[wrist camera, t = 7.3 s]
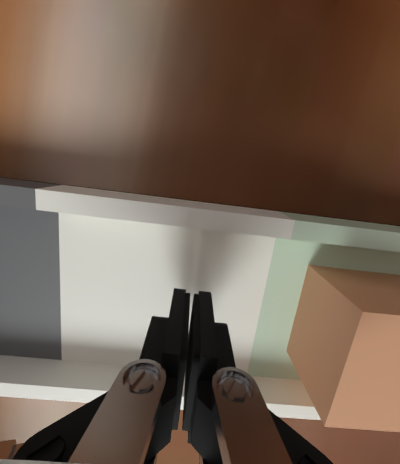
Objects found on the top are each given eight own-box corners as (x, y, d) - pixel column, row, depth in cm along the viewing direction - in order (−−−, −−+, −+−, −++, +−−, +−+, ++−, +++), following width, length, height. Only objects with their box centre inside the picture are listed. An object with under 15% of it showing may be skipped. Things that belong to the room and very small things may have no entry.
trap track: (547, 244, 12) (612, 258, 11) (468, 399, 15) (508, 434, 13) (-78, 167, 11) (-137, 168, 9) (-48, 357, 13) (-89, 389, 11)
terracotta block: (423, 277, 12) (529, 328, 8) (391, 360, 14) (470, 437, 10) (308, 264, 12) (362, 311, 8) (286, 350, 13) (324, 426, 9)
